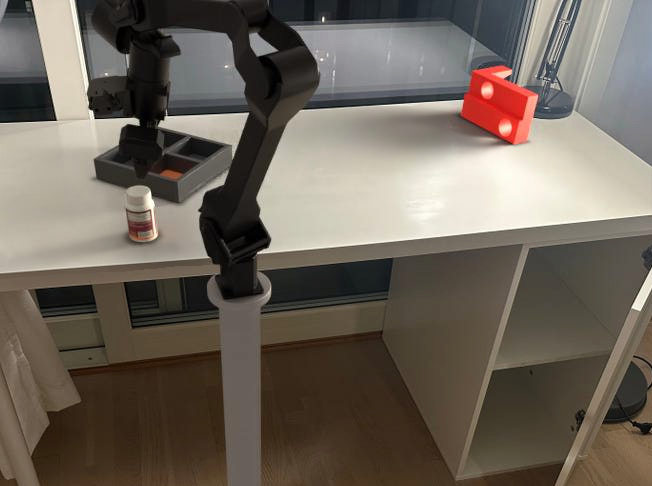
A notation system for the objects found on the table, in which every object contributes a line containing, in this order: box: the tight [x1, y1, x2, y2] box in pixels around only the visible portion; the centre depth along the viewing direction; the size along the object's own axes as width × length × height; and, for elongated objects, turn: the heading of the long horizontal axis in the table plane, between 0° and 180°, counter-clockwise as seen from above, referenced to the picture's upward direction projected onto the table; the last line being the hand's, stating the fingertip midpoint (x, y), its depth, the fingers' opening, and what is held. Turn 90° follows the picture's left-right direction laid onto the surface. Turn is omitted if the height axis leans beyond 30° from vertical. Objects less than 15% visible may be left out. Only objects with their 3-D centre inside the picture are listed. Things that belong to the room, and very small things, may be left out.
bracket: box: [460, 65, 539, 145], centre depth 160 cm, size 18×10×10 cm
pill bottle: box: [124, 186, 159, 243], centre depth 117 cm, size 5×5×8 cm
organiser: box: [92, 126, 233, 204], centre depth 137 cm, size 19×19×4 cm
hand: (142, 160), depth 113 cm, fingers open, 9 cm apart
